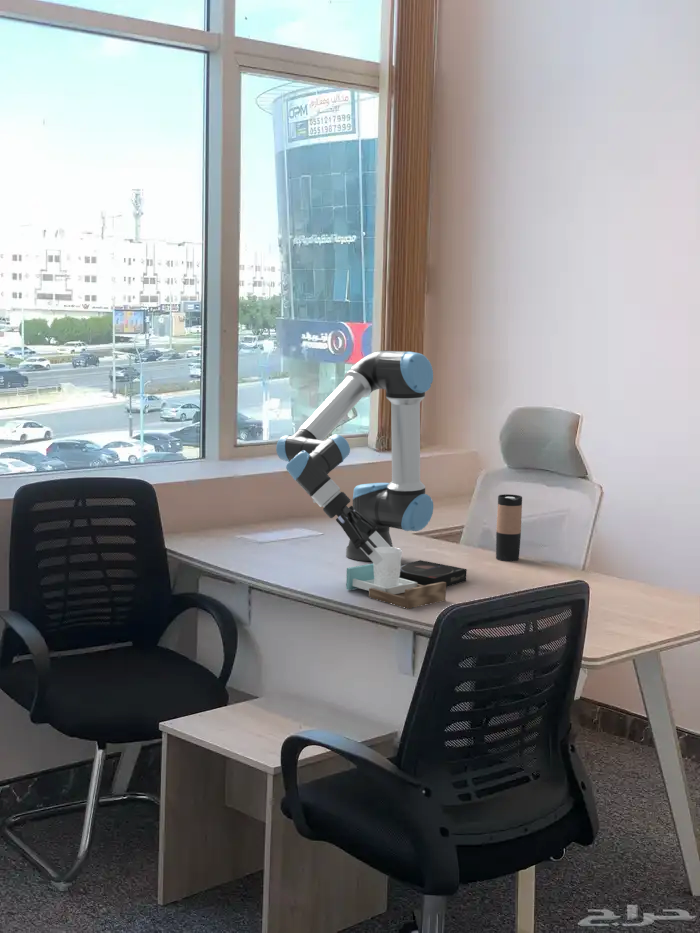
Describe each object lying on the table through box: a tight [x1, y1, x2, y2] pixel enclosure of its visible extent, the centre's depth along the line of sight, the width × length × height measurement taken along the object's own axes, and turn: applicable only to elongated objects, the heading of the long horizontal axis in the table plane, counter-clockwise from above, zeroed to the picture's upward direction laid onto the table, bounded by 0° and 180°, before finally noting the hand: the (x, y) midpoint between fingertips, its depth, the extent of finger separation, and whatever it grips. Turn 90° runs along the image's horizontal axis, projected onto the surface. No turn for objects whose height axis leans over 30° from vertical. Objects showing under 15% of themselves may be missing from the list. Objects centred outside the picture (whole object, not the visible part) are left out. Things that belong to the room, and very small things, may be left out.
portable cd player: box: [399, 559, 467, 588], centre depth 335 cm, size 16×17×4 cm
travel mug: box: [495, 493, 523, 562], centre depth 366 cm, size 8×8×20 cm
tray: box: [345, 563, 417, 594], centre depth 321 cm, size 14×15×6 cm
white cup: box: [372, 546, 403, 588], centre depth 319 cm, size 8×8×10 cm
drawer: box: [368, 582, 447, 610], centre depth 314 cm, size 14×15×5 cm
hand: (384, 556), depth 319 cm, fingers open, 13 cm apart
